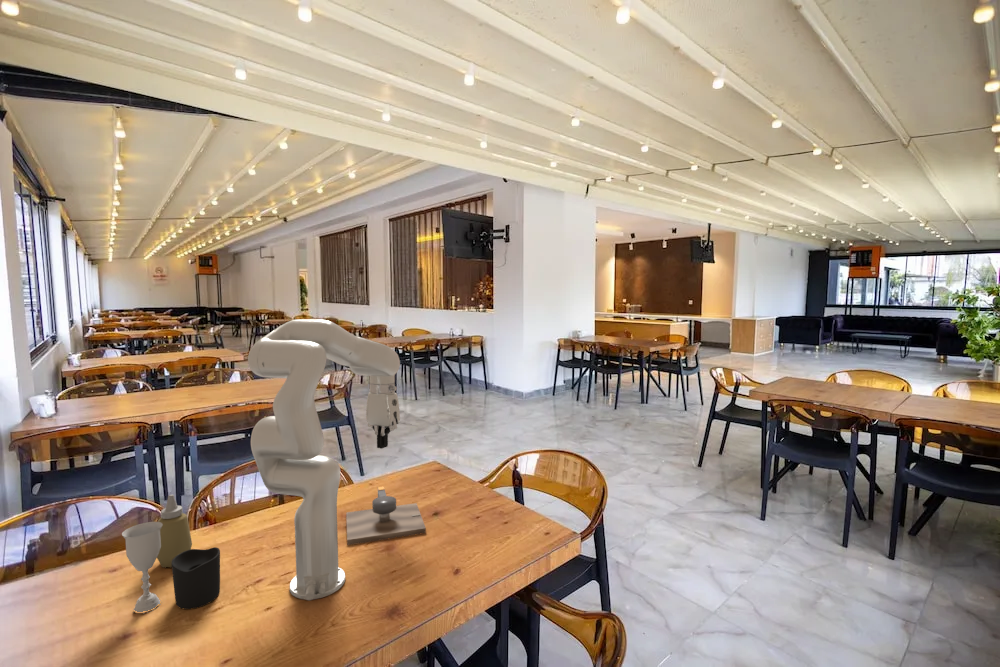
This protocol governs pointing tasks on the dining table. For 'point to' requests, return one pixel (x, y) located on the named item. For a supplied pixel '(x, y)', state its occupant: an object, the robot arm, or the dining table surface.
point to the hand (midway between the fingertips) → (382, 447)
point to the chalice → (144, 557)
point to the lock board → (383, 524)
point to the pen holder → (196, 577)
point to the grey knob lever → (383, 503)
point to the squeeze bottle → (173, 532)
